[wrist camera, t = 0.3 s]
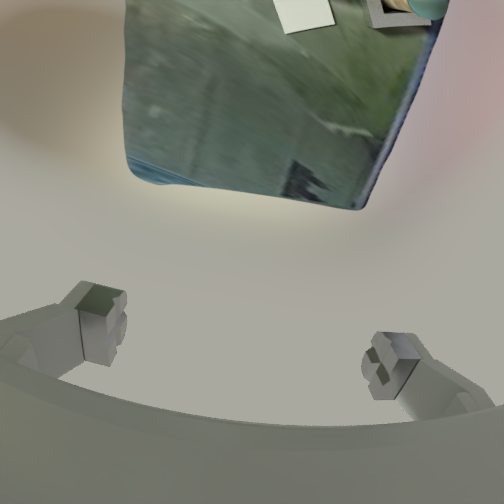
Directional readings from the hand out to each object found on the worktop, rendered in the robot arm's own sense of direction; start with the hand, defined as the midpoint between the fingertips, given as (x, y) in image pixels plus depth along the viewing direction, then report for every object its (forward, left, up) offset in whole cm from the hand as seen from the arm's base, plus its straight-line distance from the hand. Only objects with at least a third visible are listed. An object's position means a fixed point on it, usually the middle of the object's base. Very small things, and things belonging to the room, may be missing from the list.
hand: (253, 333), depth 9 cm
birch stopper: (-5, +25, -53) cm, 59 cm away
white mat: (-5, +9, -53) cm, 54 cm away
